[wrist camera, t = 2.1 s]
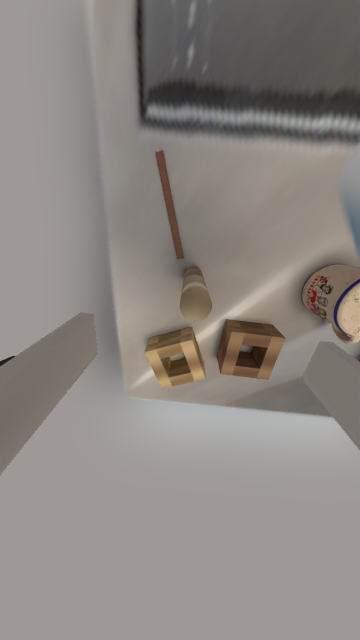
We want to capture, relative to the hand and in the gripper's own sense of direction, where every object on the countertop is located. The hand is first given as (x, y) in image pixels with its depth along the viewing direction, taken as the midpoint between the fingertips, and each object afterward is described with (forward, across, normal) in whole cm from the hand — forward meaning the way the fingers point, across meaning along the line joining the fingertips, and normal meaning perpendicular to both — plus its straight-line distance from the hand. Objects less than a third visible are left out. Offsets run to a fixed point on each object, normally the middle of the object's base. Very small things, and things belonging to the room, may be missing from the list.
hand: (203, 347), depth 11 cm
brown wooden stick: (+23, -5, +9) cm, 25 cm away
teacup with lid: (+23, +24, -1) cm, 33 cm away
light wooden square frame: (+23, -1, -16) cm, 28 cm away
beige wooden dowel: (+23, 0, 0) cm, 23 cm away
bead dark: (+23, +12, -12) cm, 28 cm away
